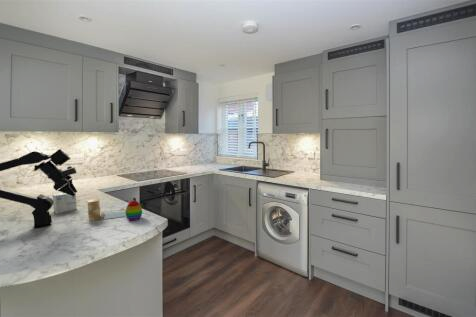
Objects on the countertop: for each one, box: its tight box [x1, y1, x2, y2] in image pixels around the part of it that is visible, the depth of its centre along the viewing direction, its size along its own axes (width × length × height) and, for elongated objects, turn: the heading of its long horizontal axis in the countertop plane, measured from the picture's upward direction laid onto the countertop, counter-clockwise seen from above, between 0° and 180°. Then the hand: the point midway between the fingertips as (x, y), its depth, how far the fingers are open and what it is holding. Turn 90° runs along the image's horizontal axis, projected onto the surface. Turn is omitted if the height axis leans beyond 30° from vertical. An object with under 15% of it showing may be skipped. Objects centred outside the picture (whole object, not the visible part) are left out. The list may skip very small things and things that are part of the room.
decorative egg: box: [125, 200, 143, 221], centre depth 133 cm, size 8×8×10 cm
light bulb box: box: [51, 192, 78, 214], centre depth 151 cm, size 11×7×11 cm, turn 141°
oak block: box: [87, 198, 101, 221], centre depth 135 cm, size 5×6×10 cm
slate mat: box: [99, 210, 127, 221], centre depth 139 cm, size 12×10×2 cm
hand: (75, 193), depth 132 cm, fingers open, 9 cm apart
